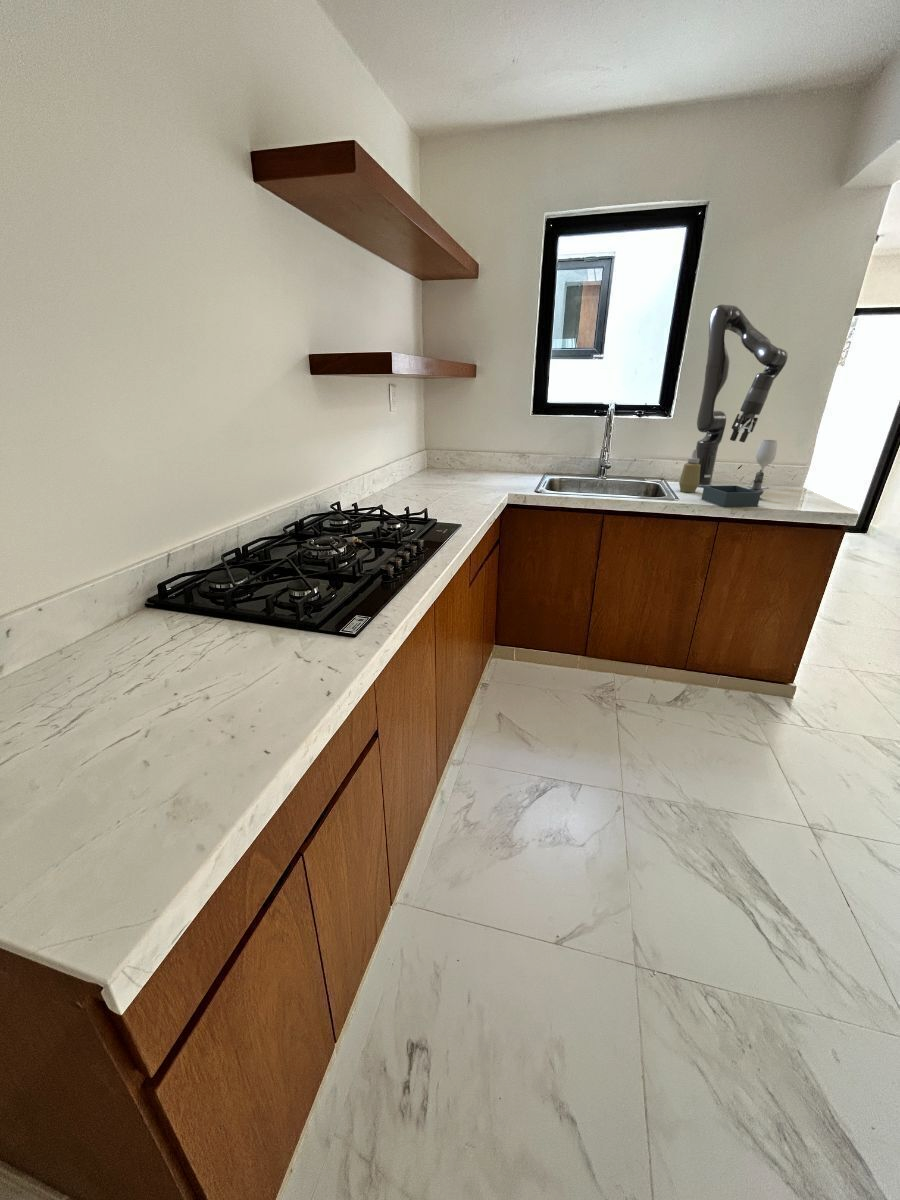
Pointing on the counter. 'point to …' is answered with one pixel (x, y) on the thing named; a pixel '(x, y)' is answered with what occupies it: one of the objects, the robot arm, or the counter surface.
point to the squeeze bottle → (690, 474)
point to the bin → (731, 496)
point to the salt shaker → (758, 482)
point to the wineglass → (766, 454)
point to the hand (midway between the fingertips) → (737, 441)
